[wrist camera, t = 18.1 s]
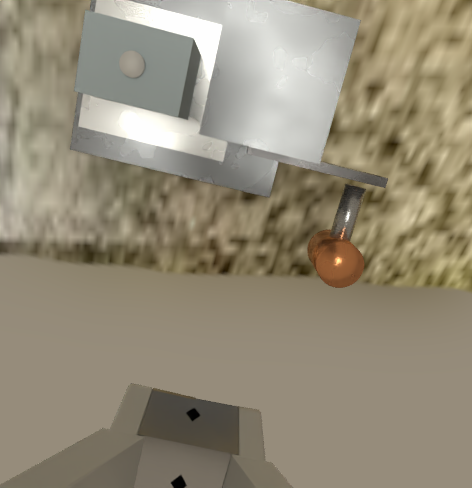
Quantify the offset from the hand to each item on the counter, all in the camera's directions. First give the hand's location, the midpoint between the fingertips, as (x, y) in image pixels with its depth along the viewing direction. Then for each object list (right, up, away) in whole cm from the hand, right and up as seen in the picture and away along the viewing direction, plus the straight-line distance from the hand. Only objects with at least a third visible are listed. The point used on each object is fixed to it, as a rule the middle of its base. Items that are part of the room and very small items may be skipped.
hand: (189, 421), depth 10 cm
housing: (-6, +17, +24) cm, 30 cm away
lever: (+8, +5, +21) cm, 23 cm away
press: (0, +16, +26) cm, 30 cm away
